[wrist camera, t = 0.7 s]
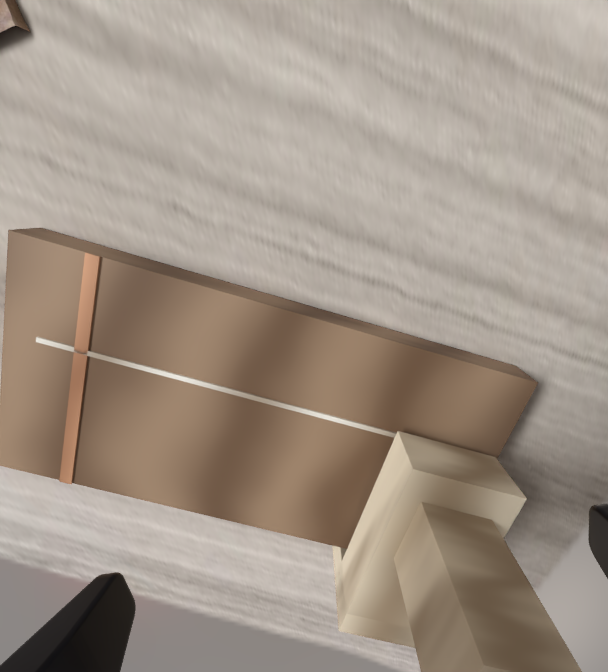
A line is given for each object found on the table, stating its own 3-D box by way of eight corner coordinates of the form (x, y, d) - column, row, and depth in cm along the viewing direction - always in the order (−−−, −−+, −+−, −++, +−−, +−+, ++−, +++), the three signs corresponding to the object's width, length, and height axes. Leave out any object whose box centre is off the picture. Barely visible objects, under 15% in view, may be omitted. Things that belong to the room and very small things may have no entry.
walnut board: (516, 366, 20) (539, 383, 18) (426, 541, 23) (437, 572, 21) (40, 227, 18) (6, 230, 16) (24, 442, 21) (-5, 466, 19)
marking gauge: (477, 432, 20) (650, 662, 10) (410, 564, 23) (492, 847, 13) (388, 408, 20) (475, 621, 10) (332, 545, 23) (352, 821, 13)
